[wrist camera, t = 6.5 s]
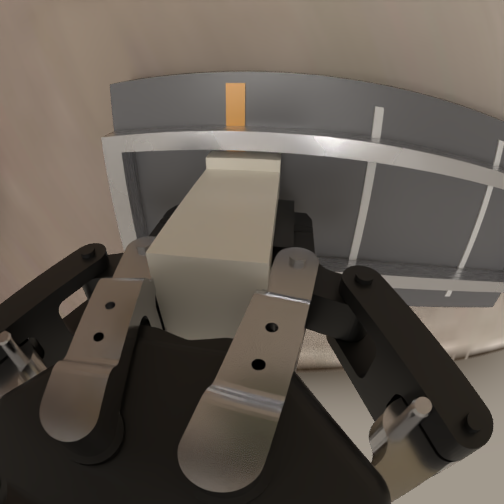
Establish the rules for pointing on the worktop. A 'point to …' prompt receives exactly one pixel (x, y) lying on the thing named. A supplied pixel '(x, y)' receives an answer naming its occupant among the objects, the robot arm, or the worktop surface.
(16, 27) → the worktop surface
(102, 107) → the worktop surface
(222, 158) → the block
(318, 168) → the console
